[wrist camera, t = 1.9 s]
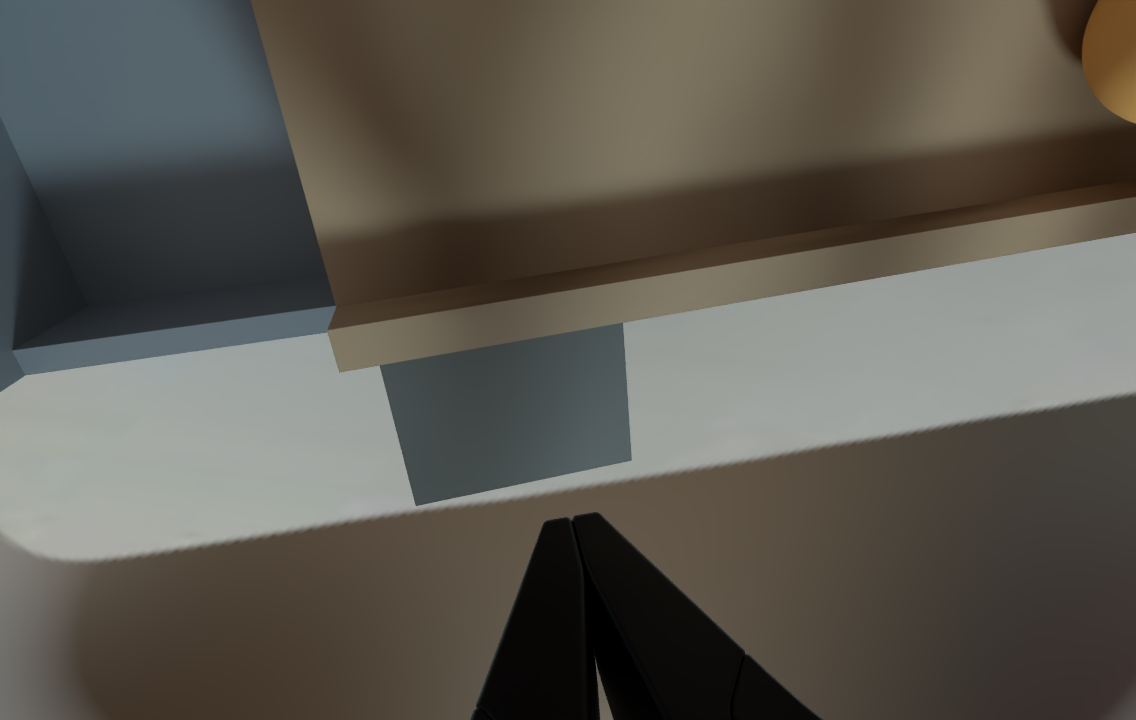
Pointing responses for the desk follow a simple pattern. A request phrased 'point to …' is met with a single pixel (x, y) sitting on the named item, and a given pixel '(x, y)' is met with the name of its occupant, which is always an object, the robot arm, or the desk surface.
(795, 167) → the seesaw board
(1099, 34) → the ball
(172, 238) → the tray
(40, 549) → the desk surface
